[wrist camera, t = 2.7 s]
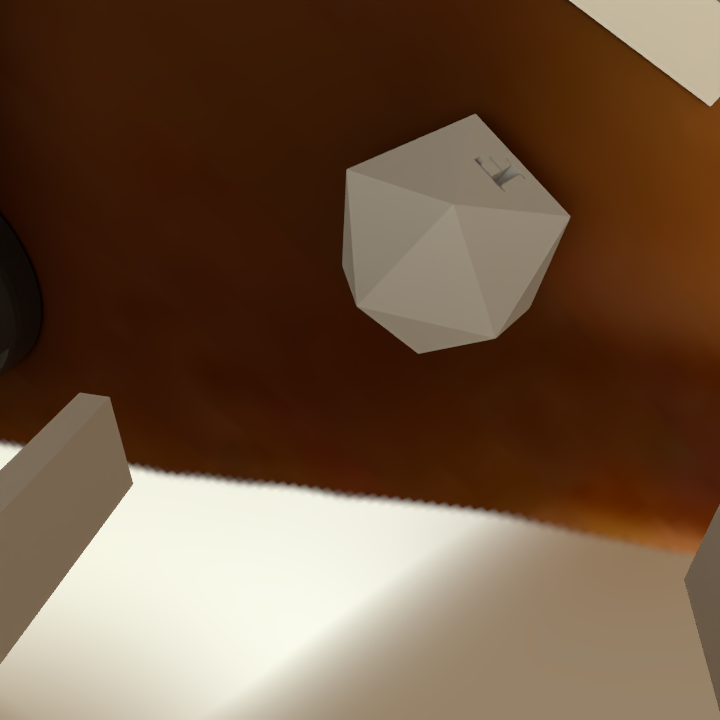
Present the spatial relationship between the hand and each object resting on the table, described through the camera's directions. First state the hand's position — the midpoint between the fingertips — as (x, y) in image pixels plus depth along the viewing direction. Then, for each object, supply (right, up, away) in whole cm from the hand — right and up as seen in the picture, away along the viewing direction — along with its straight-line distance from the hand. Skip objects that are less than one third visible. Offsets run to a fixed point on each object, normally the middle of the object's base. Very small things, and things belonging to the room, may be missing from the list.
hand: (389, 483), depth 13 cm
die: (+4, +10, +15) cm, 18 cm away
